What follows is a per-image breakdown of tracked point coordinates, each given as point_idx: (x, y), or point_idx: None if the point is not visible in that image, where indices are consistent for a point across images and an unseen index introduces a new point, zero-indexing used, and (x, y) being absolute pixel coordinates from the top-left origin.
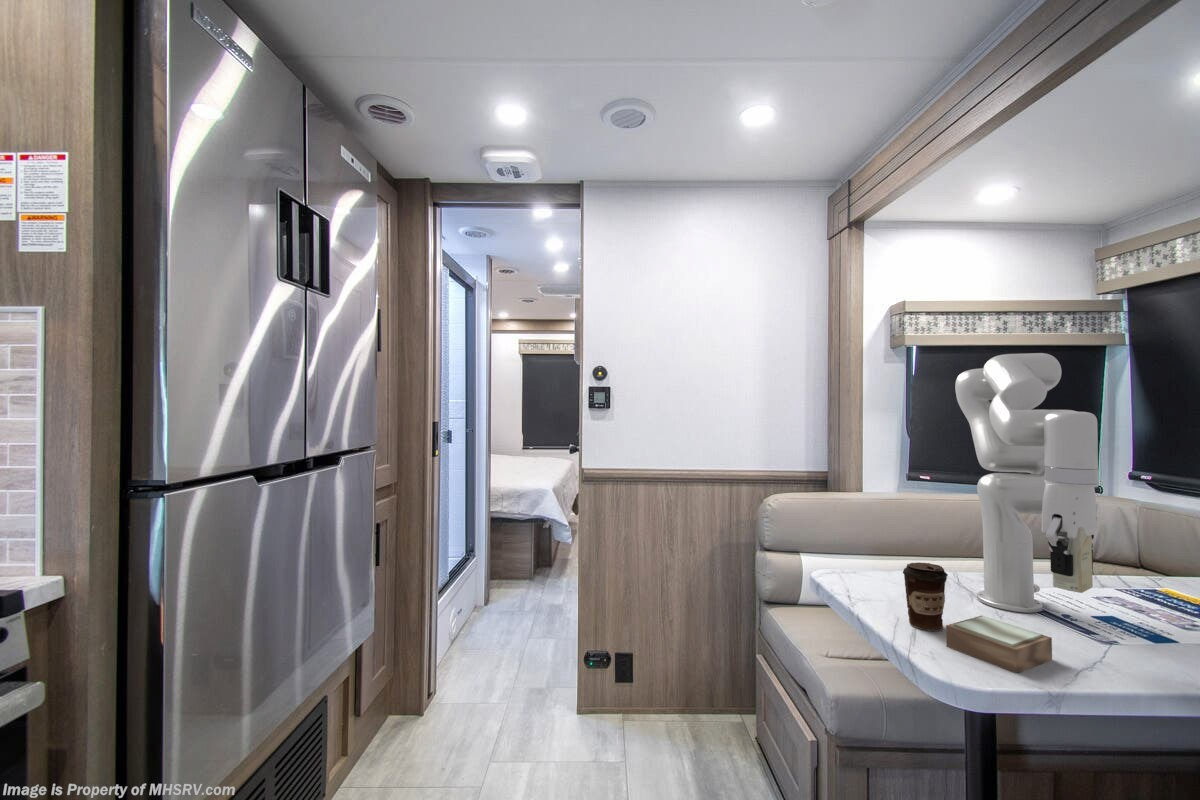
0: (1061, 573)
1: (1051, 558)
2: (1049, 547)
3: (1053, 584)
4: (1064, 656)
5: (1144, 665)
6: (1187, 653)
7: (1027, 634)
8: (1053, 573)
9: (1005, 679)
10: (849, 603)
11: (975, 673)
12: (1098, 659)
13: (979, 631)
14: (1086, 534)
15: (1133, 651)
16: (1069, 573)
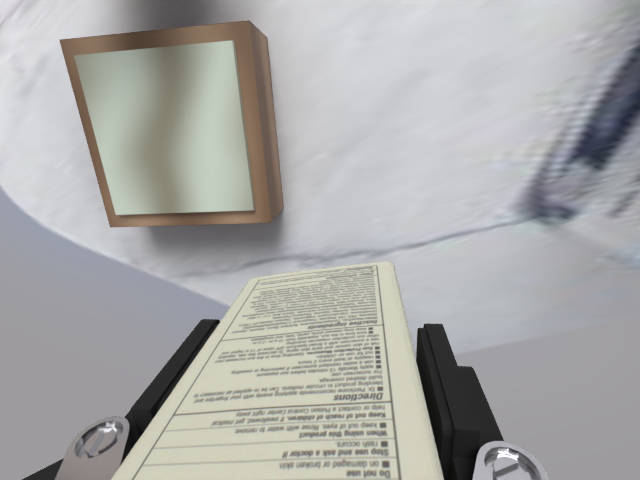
0: None
1: (165, 371)
2: (71, 446)
3: (247, 284)
4: (332, 209)
5: (442, 300)
6: (625, 314)
7: (213, 194)
8: (228, 312)
9: (100, 218)
10: None
11: (63, 179)
12: (387, 247)
13: (103, 126)
14: None
15: (523, 260)
16: None
